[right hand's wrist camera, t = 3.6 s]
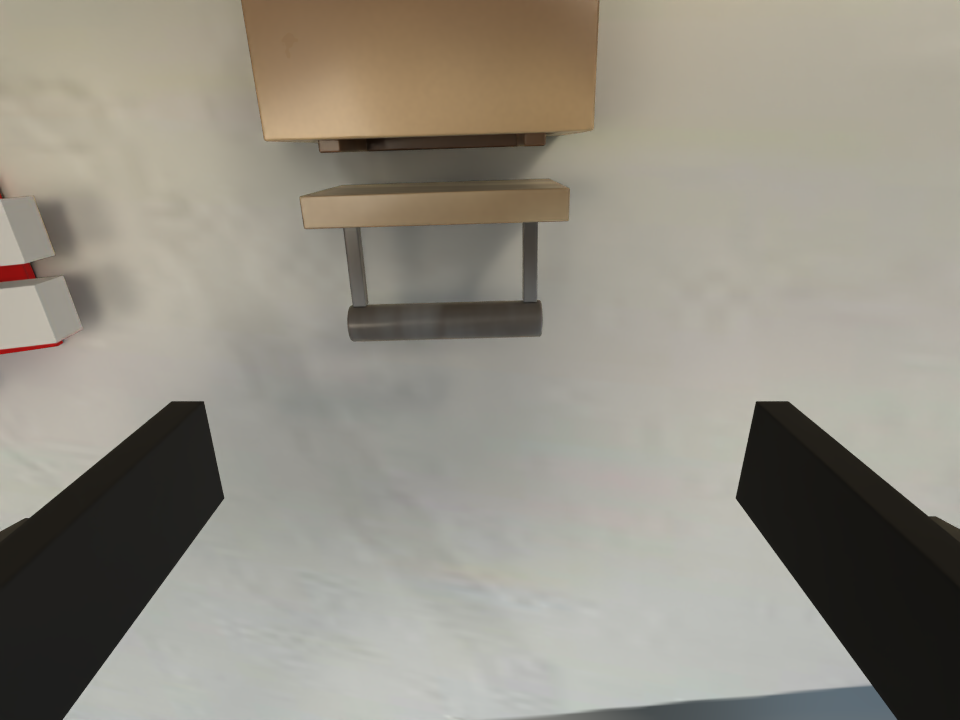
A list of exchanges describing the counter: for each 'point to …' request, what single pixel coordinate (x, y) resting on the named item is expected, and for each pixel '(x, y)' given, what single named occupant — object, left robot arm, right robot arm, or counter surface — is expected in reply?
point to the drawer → (438, 208)
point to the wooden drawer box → (422, 67)
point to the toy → (30, 283)
